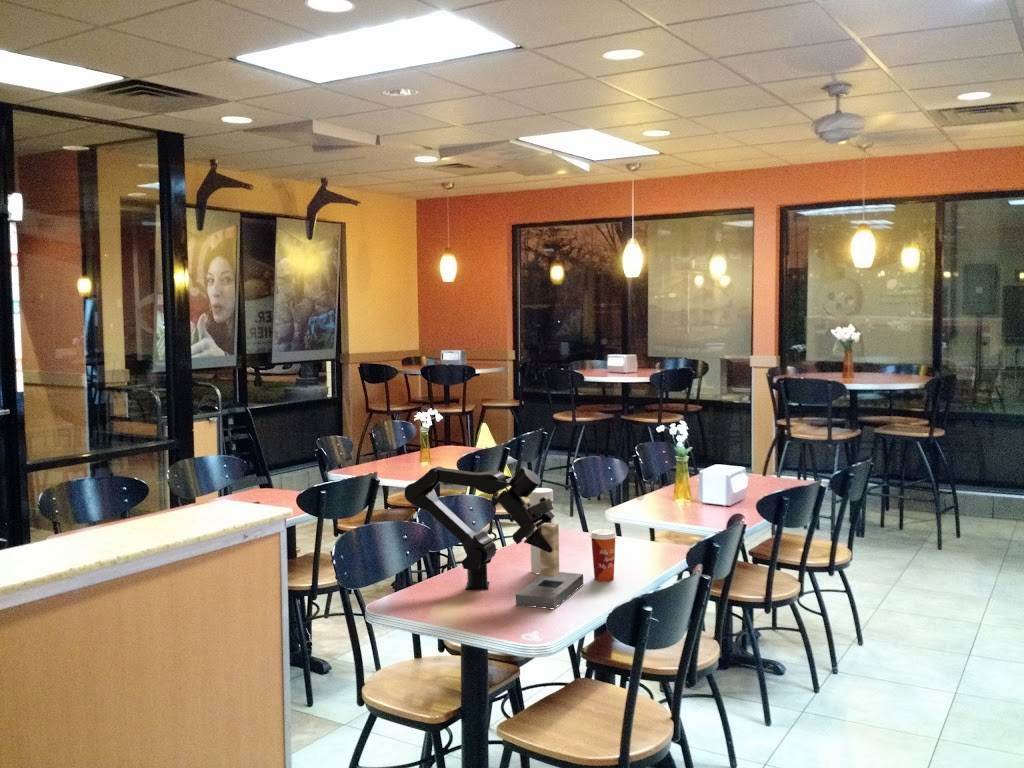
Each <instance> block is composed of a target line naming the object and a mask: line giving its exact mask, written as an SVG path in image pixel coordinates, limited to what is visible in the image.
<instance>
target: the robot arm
mask: <svg viewBox="0 0 1024 768" xmlns="http://www.w3.org/2000/svg"><path fill="white" fill-rule="evenodd" d="M541 481H542V480H541V478H540V477H539V475H538V474H537V473H536V472H533V471H532V470H531V469H528V468H527V467H526V466H523V467H521V468H520V469H519V470H518V471H517V473H516V474H515V475H514V476H510V475H505V473H504V472H502V471H500V470H493V471H492V470H491V471H490V470H489V471H482V472H481V471H479V472H474V471H468V470H467V471H466V470H461V469H453V468H447V467H446V468H445V467H442V466H436V467H433V468H430V469H429V470H428V471H427V472H426V473H425V474H424V475H423V476H422V477H420V478H419V479H417V480H416V481H414V482H412V483H409V484H407V485H406V487H405V488H404V498H405V500H406V501H407V502H408V503H410V504H412V505H413V507H416V508H419V509H422V510H423V511H426V512H428V514H430V515H431V517H433V518H434V520H436V521H437V522H438V523H439V524H440V525H441V526H442V527H444V528H445V529H446V530H447V532H449V533H450V534H451V535H452V536H453V537H454V538H456V540H457V541H458V542H459V543H460V544H461V545H462V547H463V550H464V553H465V554H466V556H465V558H464V559H463V560H461V562H460V563H461V565H462V568H463V570H467V582H466V585H465V590H467V591H469V590H471V591H479V590H480V591H481V590H489V588H490V581H488V564H490V563H491V562H492V558H494V557H495V556H496V553H497V546H496V543H495V542H494V538H491V537H490V536H489V535H488V534H487V533H486V532H485V531H484V530H482V531H480V532H475V531H474V530H472V529H471V527H469V526H468V525H467V524H466V523H465V522H463V520H461V519H460V518H459V517H458V516H457V515H456V514H455V513H454V512H453V511H452V510H451V509H450V508H448V507H447V506H446V505H445V503H443V502H442V501H441V500H440V499H439V497H438V495H437V492H436V490H435V488H436V487H437V486H438V484H439V483H443V484H444V483H445V484H452V485H457V486H463V487H464V486H466V487H470V488H474V489H476V490H477V491H479V492H481V493H484V494H486V495H495V494H497V493H499V492H500V493H499V494H498V495H495V496H493V497H492V502H491V507H492V508H494V507H497V506H499V505H500V507H502V508H503V509H504V511H505V512H506V513H507V514H508V515H509V516H510V518H509V520H510V521H511V522H515V523H516V525H518V526H519V528H517V530H516V531H514V533H513V534H512V540H513V541H514V543H516V545H519V544H521V543H522V542H523V543H524V544H527V545H530V546H531V545H533V546H535V547H538V548H540V549H542V550H544V551H547V552H549V553H551V552H552V551H553V550H552V548H551V547H550V545H549V544H548V542H547V541H546V539H545V538H544V537H543V535H542V533H541V525H542V524H544V523H551V520H552V519H553V520H554V518H555V515H554V513H553V514H552V513H551V511H550V510H553V511H554V505H553V506H552V503H553V504H554V500H553V501H551V500H550V498H548V497H546V496H545V497H543V498H541V499H540V503H538V504H536V505H532V504H531V503H529V502H526V501H525V500H524V499H523V498H528V497H529V495H530V494H531V493H532V492H533V491H534V490H535V489H536V488H539V486H540V485H542V484H541V483H542V482H541ZM509 487H510V488H509ZM507 488H508V490H505V489H507ZM525 538H526V539H525ZM524 539H525V540H524Z"/></svg>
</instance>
